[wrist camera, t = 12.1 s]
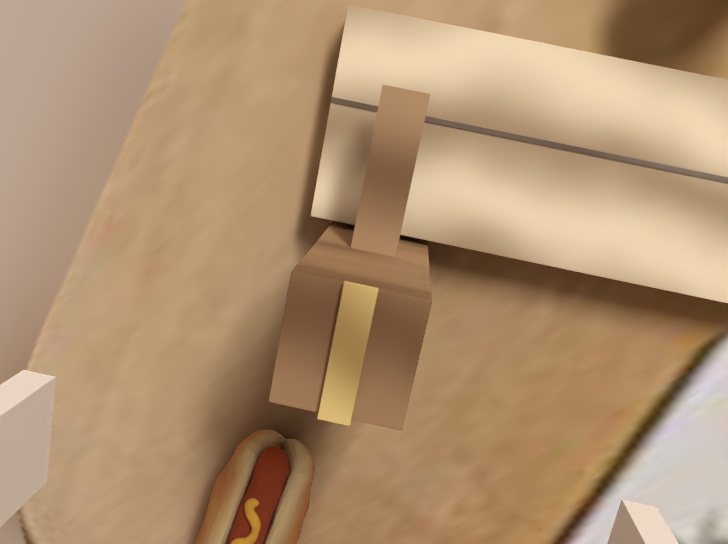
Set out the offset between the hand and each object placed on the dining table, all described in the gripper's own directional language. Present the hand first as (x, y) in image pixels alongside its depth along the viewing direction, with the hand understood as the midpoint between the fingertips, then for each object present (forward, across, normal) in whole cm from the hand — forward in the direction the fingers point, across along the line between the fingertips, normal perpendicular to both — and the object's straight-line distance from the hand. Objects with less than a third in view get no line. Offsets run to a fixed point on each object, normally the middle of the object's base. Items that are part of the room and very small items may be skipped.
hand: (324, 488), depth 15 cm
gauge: (+21, 0, -3) cm, 21 cm away
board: (+21, -8, -8) cm, 23 cm away
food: (+21, +4, +16) cm, 27 cm away
